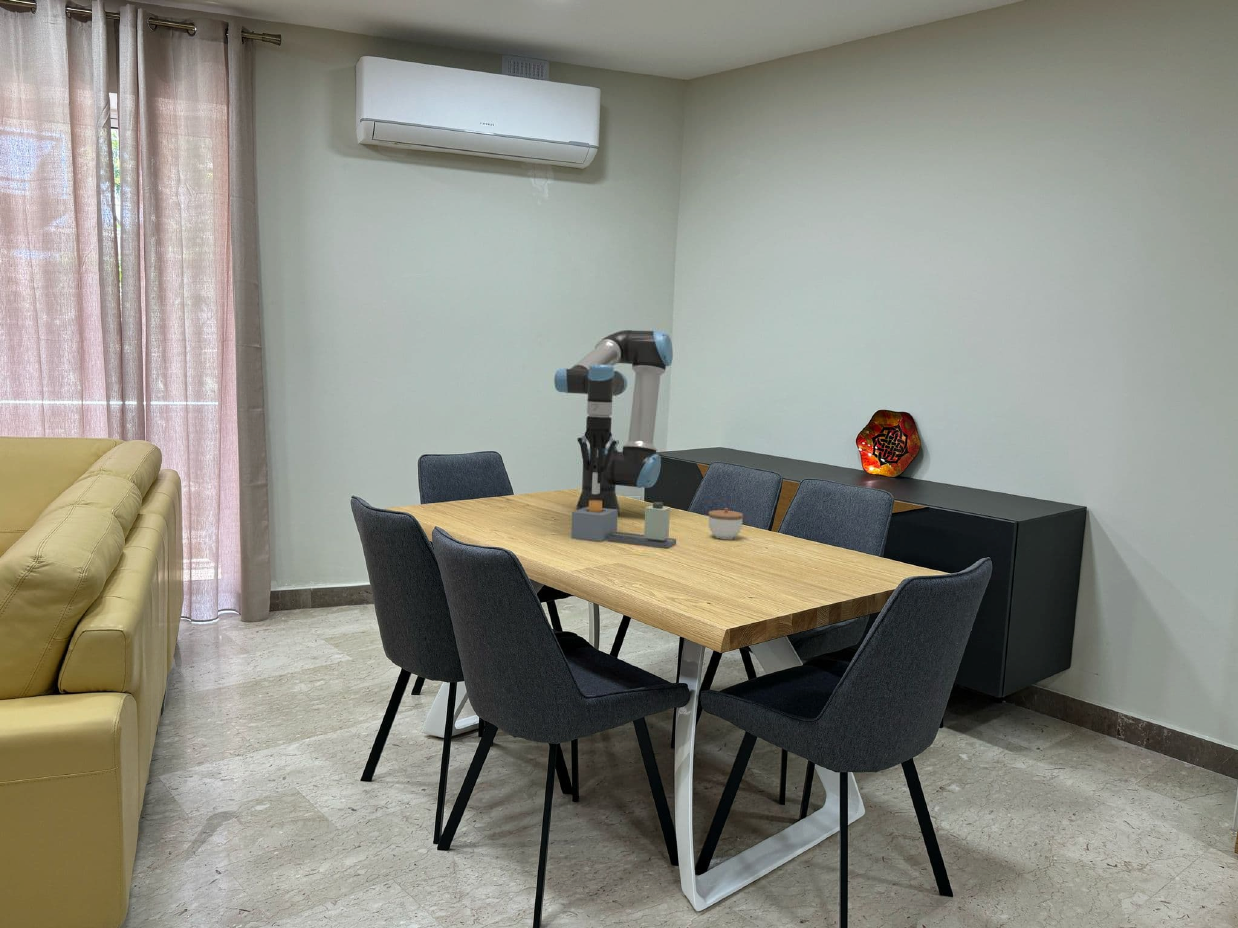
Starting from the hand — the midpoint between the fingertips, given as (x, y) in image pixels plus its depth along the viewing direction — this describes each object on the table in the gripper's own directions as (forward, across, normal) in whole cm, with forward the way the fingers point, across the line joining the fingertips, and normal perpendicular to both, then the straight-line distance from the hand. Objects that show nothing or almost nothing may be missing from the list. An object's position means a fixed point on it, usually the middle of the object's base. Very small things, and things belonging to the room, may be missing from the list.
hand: (595, 493), depth 285 cm
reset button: (+8, 0, 0) cm, 8 cm away
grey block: (+13, 0, 0) cm, 13 cm away
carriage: (+11, +20, 0) cm, 23 cm away
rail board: (+13, +16, 0) cm, 20 cm away
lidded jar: (+13, +35, +22) cm, 44 cm away
